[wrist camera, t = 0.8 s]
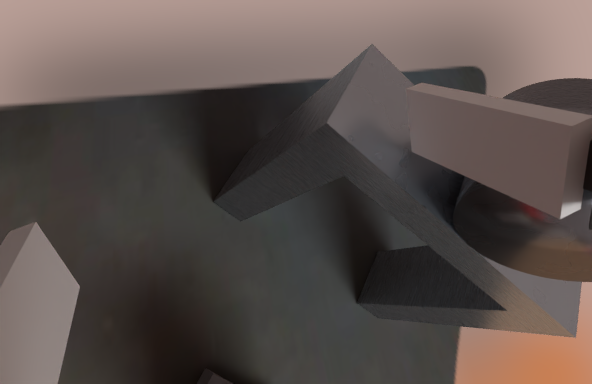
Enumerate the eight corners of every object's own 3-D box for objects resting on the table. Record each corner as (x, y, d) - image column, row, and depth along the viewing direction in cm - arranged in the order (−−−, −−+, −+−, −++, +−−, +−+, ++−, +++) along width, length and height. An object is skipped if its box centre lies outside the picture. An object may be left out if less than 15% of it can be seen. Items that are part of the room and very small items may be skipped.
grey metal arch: (213, 201, 27) (476, 18, 9) (247, 151, 29) (514, -79, 11) (378, 318, 32) (774, 357, 13) (396, 266, 34) (758, 240, 16)
